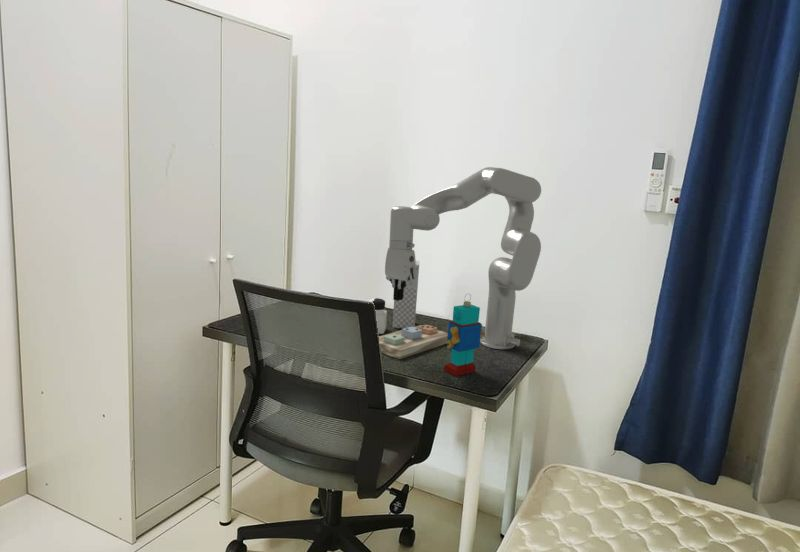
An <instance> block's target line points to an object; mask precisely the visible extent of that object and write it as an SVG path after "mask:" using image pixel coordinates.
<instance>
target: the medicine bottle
mask: <svg viewBox="0 0 800 552" xmlns="http://www.w3.org/2000/svg"><path fill="white" fill-rule="evenodd" d="M369 302H373V303H374V305H375V311H376V321H377V328H378V333H377V334H381V335H385V334H384V333H385V332H386V329H387V318H388V317H387V316H388V311H387V310H386V300H385V299H383V298H378V297H375V298H371V299H369V300H368V303H369Z"/></svg>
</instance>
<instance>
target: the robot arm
mask: <svg viewBox="0 0 800 552" xmlns="http://www.w3.org/2000/svg"><path fill="white" fill-rule="evenodd" d="M491 194H494V195H498V196H502V197H504V198H505V200H506V201H507V204H508V209H509V211H508V212H509V213H508V218H507V222H506V225H505V227H504V230H503V234H502V237H501V242H500V248H501V250H502V251H503V252H504V253H506V254H508V255H510V256H512V258H509V257H504V256H503V257H497V258H495V259H494V260H493V261H491V263H490V264H489V268H488V273H487V274H488V275H487V276H488V299H487V309H486V320H485V329H484V334H483V338H482V339H480V344H481V345H482V346H484V347H487V348H489V349H496V350H511V349H513V348H514V347H515V346H516V347H519V346H520V345H521V339H518V338H515V333H513V324H514V316H515V315H514V313H515V308H516V307H515V306H516V297H517V296H516V292H517V291H518V292H520V291H523V290H525V289H527V287H528V286H529V285H530V284H531V282H532V280H533V276H534V274H535V271H536V267H537V265H538V261H539V259H540V255H541V252H542V243H541V239H540V238H539V236H538V235H537V234H535V232H532V231H531V230H532V225H533V222H534V218H535V209H534V208H535V207H534V204H533V203H534V202H536V201H537V200H538V199H539V198H540V197H541V194H542V187H541V184H540V182H539V181H538V179H536V178H534V177H531V176H528V175H525V174H521V173H518V172H515V171H512V170H509V169H505V168H503V167H492V166H488V167H484V168H481V169H480V170H478V171H476V172H475V173H472V174H471V175H470V176H468V177H466V178H464V179H462V180H461V181H459V182H458V183H455V184H454V185H452V186H449V187H446V188H444V189H442V190H440V191H437V192H435V193H432V194H430V195H427V196H425V197H424V198H422V199H420V200H419V201H417V202H416V203H414V204H413V205H411V206H405V205H404V206H401V205H399V206H397V205H396V206H393V207H392V208H391V209H390V222H389V223H390V224H389V242H388V243H389V246H388V247H387V251H386V256H385V263H384V264H385V265H384V274H385V279H386V280H387V281H389V282H390V284H391V287H392V288H393V295H392V297H393V299H392V300H393V301H394V300H396V301H399V300H403V294H404V288H405V287H406V286H407V285H412V284H413V281H412V280H413V279H415V277H416V261H417V259H416V253H415V250H414V248H415V243H414V242H413V241H414V230H418V231H419V230H420V231H432V230H434V229H435V228H437V227H438V226H439V224H440V215H441V214H444V213H447V212H452V211H460V210H463V209H467V208H469V207H470V206H472V205H474V204H476V203H477V202H478V201H480V200H482V199H484V198H485V197H487V196H489V195H491Z"/></svg>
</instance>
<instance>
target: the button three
mask: <svg viewBox="0 0 800 552" xmlns="http://www.w3.org/2000/svg"><path fill="white" fill-rule="evenodd" d="M422 325H423V326H419V325H418V326H419V327H418V329H420V330H422V333H423V334H426V335H432V334H435V333H437V330H438V327H436V326H433V325H429V324H422Z"/></svg>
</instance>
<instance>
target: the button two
mask: <svg viewBox="0 0 800 552" xmlns="http://www.w3.org/2000/svg"><path fill="white" fill-rule="evenodd" d="M401 330H402V333H401V336H403V337H405V338H406V339H409V340H416V339H419V338H421V336H422V330H420V329H417V328H414V327H408V328H401Z"/></svg>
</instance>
